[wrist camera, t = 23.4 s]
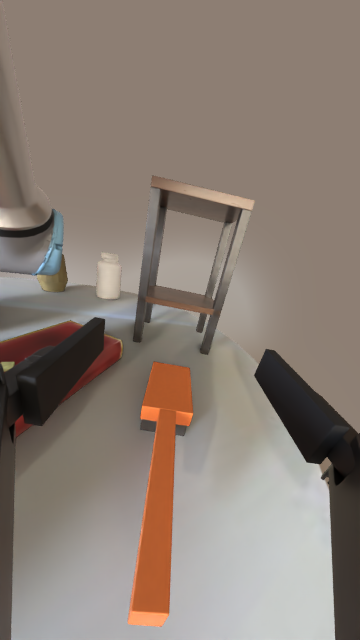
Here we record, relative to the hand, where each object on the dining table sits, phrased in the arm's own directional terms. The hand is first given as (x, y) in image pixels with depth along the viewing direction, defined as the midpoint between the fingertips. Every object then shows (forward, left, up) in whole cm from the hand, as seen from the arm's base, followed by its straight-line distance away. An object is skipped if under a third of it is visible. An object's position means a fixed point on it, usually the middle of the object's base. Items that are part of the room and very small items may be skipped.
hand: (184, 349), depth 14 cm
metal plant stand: (+25, +11, -13) cm, 30 cm away
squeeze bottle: (+23, +56, -13) cm, 62 cm away
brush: (0, 0, -13) cm, 13 cm away
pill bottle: (+34, +43, -13) cm, 57 cm away
